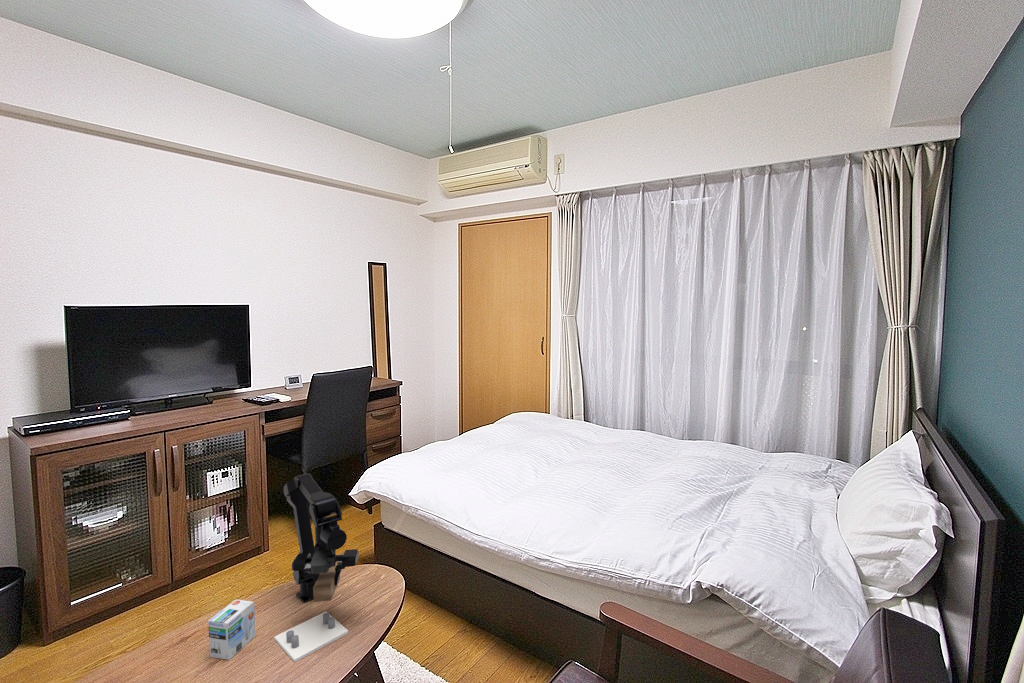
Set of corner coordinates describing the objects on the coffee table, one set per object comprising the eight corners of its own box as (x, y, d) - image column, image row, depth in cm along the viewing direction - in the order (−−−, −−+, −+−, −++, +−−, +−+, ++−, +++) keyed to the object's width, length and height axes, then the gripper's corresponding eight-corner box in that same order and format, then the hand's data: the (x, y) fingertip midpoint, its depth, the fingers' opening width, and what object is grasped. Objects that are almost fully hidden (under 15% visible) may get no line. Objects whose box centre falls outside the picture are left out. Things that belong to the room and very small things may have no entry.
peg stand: (274, 639, 143) (273, 628, 142) (326, 613, 154) (325, 603, 154) (294, 662, 133) (294, 651, 133) (348, 633, 145) (347, 622, 145)
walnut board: (324, 580, 156) (323, 566, 156) (340, 578, 157) (339, 565, 156) (313, 602, 144) (313, 587, 144) (331, 600, 145) (330, 586, 144)
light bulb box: (229, 661, 134) (227, 623, 133) (208, 657, 136) (206, 621, 135) (257, 635, 145) (255, 600, 144) (237, 632, 146) (235, 598, 145)
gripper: (284, 552, 140) (287, 604, 141) (350, 547, 142) (352, 598, 143) (296, 535, 151) (299, 583, 152) (358, 530, 153) (360, 578, 154)
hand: (327, 586), depth 150 cm, fingers closed on walnut board, 5 cm apart
